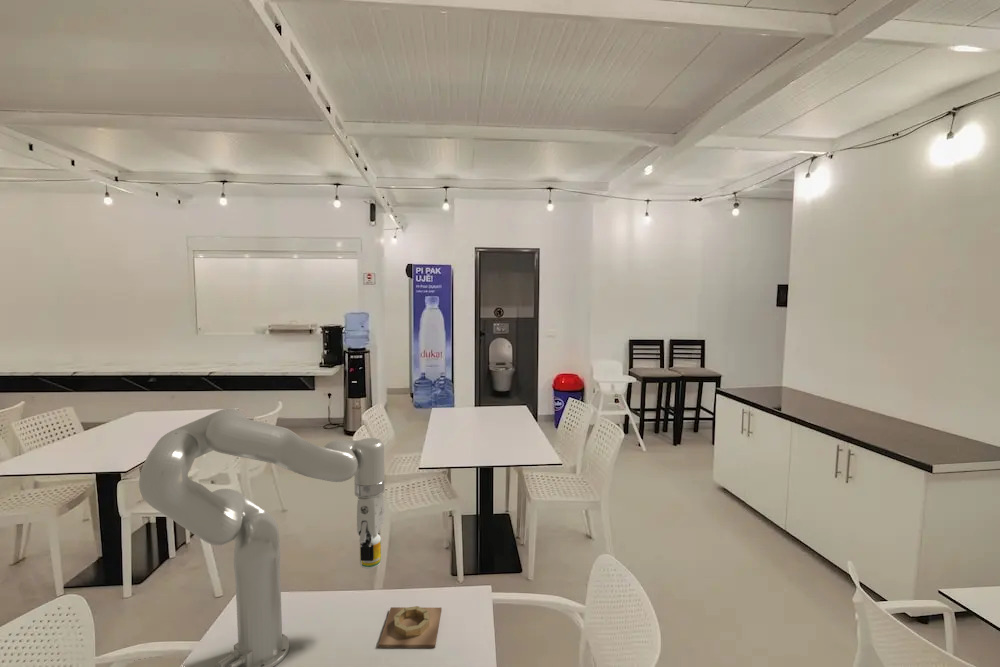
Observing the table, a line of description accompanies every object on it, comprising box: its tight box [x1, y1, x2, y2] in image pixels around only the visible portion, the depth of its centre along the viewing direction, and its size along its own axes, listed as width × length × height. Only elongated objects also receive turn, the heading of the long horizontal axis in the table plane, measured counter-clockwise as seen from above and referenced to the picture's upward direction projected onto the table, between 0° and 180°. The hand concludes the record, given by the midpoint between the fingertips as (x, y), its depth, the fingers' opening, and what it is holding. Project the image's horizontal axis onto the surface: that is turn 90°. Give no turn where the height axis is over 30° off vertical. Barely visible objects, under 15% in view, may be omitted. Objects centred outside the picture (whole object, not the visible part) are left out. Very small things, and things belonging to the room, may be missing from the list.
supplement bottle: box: [359, 531, 382, 570], centre depth 126 cm, size 5×5×10 cm
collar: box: [394, 605, 429, 638], centre depth 126 cm, size 9×9×2 cm
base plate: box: [378, 606, 443, 649], centre depth 126 cm, size 14×14×1 cm
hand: (370, 552), depth 126 cm, fingers closed on supplement bottle, 5 cm apart
